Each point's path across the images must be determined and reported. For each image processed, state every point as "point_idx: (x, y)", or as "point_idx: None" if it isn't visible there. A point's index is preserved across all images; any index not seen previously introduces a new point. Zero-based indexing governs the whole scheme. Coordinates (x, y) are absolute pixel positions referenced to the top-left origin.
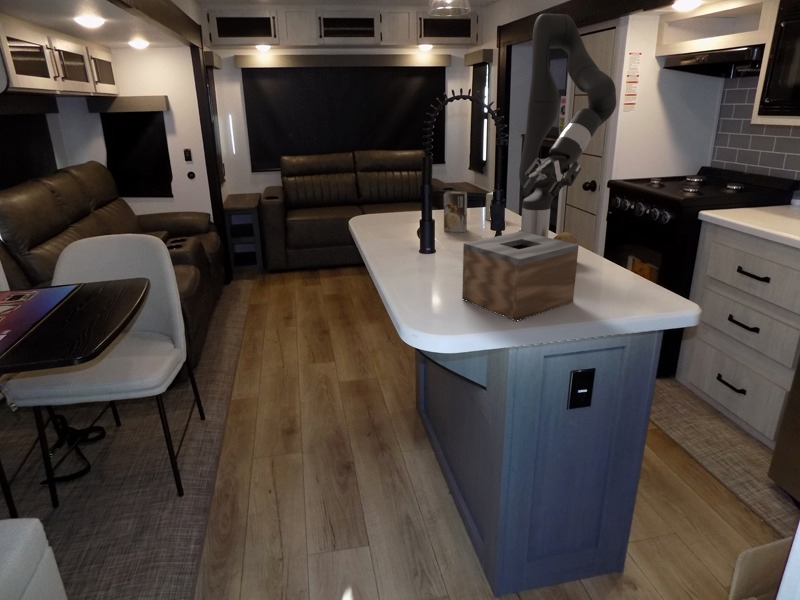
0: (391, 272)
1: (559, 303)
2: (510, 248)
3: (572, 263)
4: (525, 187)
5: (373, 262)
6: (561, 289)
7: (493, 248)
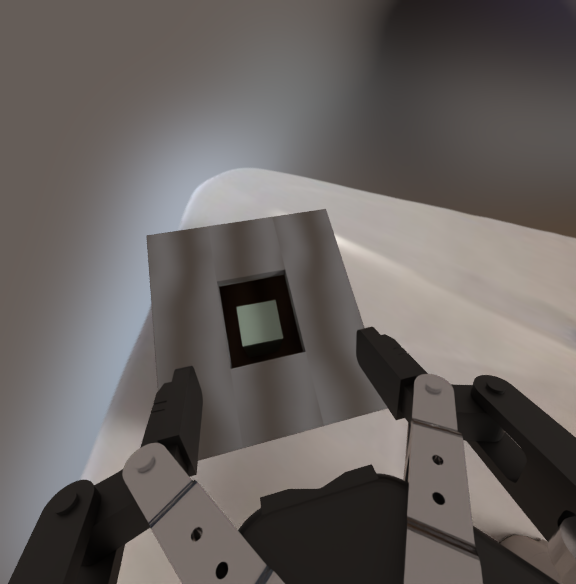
0: (471, 233)
1: None
2: (235, 269)
3: None
4: (362, 331)
5: (534, 230)
6: None
7: (255, 237)
